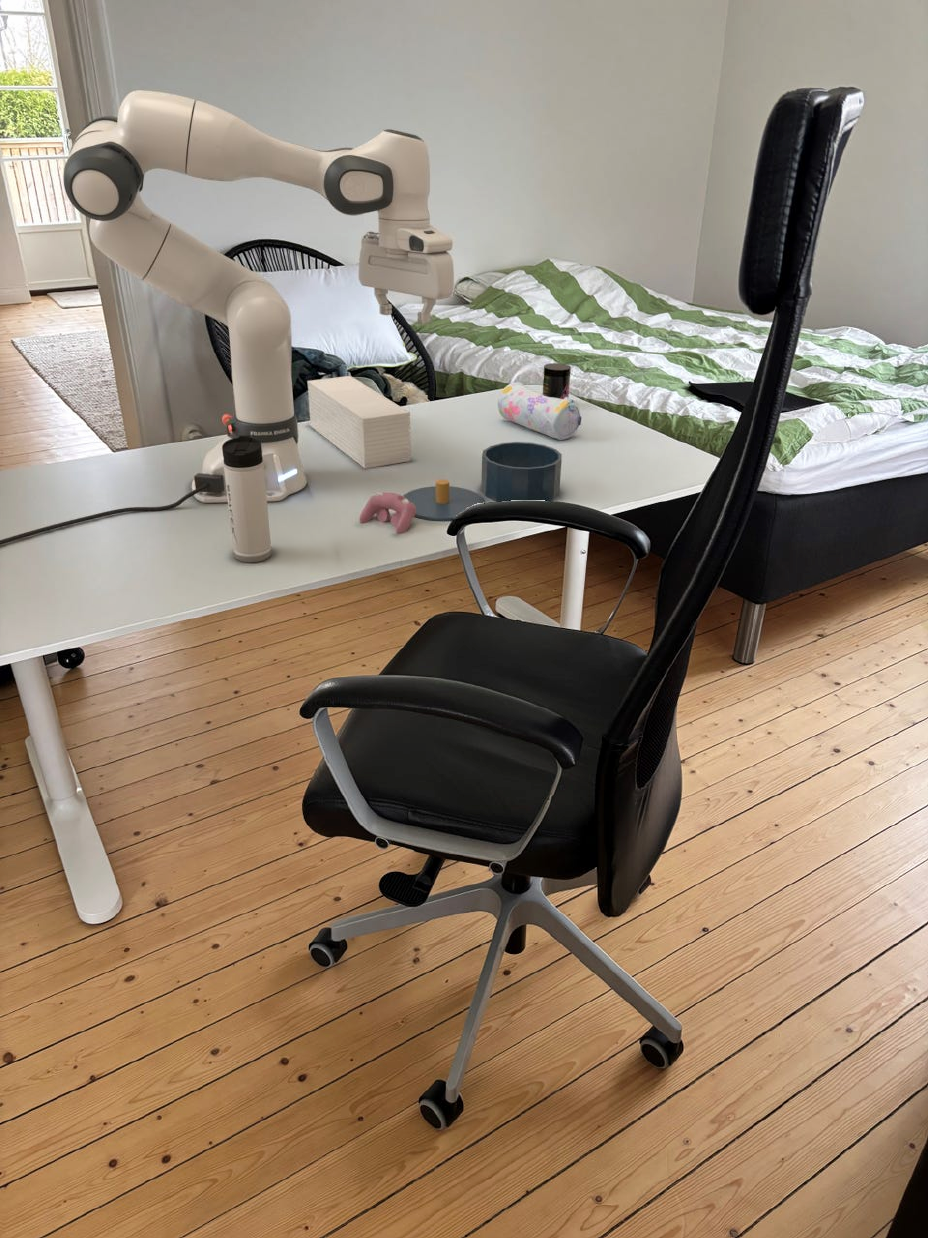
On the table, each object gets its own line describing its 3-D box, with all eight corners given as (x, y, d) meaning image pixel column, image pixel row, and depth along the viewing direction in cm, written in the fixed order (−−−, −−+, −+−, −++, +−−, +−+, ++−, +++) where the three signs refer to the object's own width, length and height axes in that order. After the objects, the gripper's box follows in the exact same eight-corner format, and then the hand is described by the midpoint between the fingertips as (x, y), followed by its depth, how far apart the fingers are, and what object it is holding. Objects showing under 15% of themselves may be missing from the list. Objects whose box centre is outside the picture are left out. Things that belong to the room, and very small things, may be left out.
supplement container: (554, 413, 232) (557, 371, 227) (535, 406, 237) (538, 365, 232) (573, 408, 236) (576, 367, 231) (554, 402, 241) (557, 361, 236)
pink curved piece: (413, 538, 169) (422, 500, 168) (399, 535, 165) (409, 497, 164) (369, 525, 173) (378, 489, 172) (355, 522, 169) (365, 485, 168)
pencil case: (582, 437, 216) (585, 397, 211) (556, 444, 211) (559, 403, 206) (519, 416, 230) (521, 377, 225) (493, 422, 225) (495, 383, 220)
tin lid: (411, 528, 169) (411, 501, 166) (391, 495, 182) (390, 470, 180) (496, 519, 173) (497, 493, 171) (469, 488, 187) (470, 463, 184)
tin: (496, 511, 176) (497, 471, 172) (471, 483, 189) (472, 445, 185) (570, 503, 180) (574, 464, 177) (541, 476, 193) (544, 439, 189)
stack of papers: (410, 461, 200) (410, 412, 195) (364, 468, 195) (363, 418, 190) (352, 420, 224) (350, 375, 219) (310, 426, 219) (307, 380, 214)
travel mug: (274, 546, 161) (264, 434, 151) (268, 563, 155) (257, 448, 145) (238, 546, 161) (225, 434, 151) (231, 563, 155) (217, 447, 145)
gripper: (349, 231, 164) (351, 312, 171) (435, 243, 153) (434, 329, 159) (374, 228, 168) (376, 307, 175) (460, 240, 157) (458, 324, 164)
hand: (404, 318), depth 167 cm, fingers open, 8 cm apart
